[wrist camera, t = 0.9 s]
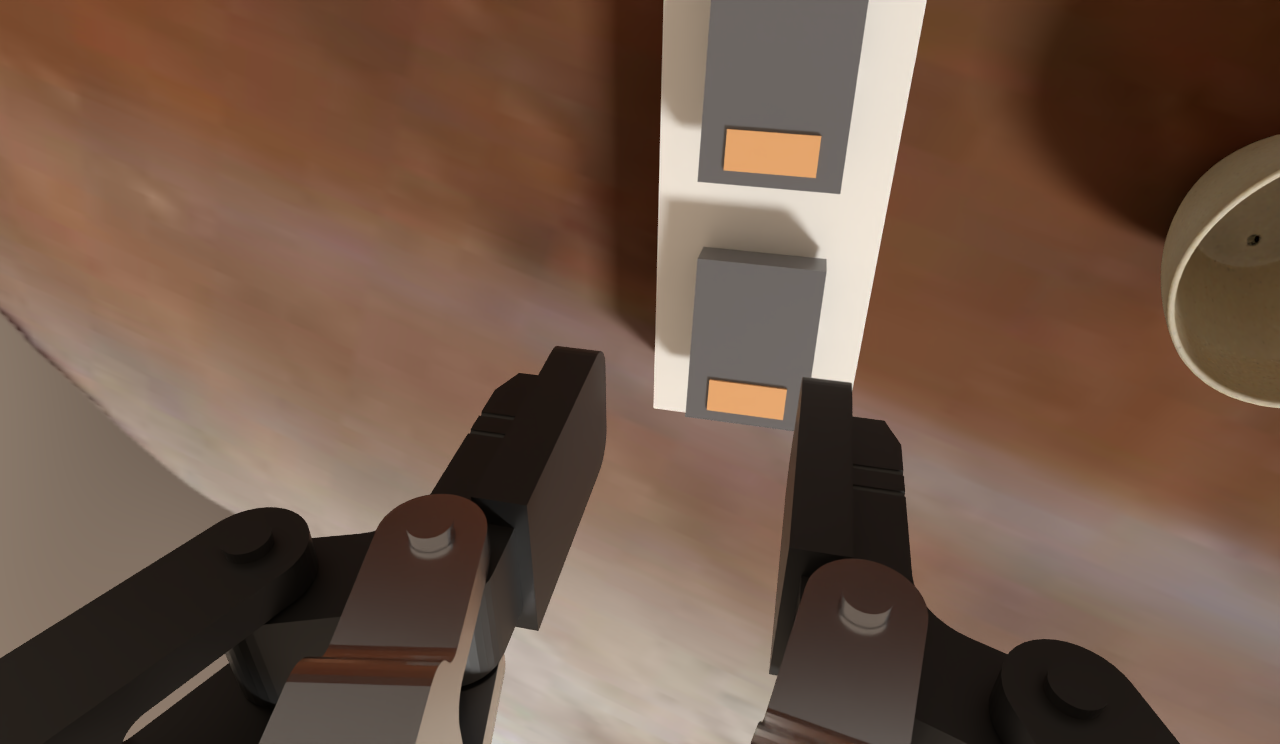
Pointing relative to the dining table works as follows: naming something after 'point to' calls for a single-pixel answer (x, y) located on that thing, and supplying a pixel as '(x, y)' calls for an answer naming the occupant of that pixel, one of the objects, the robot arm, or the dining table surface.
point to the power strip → (777, 194)
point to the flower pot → (1229, 275)
